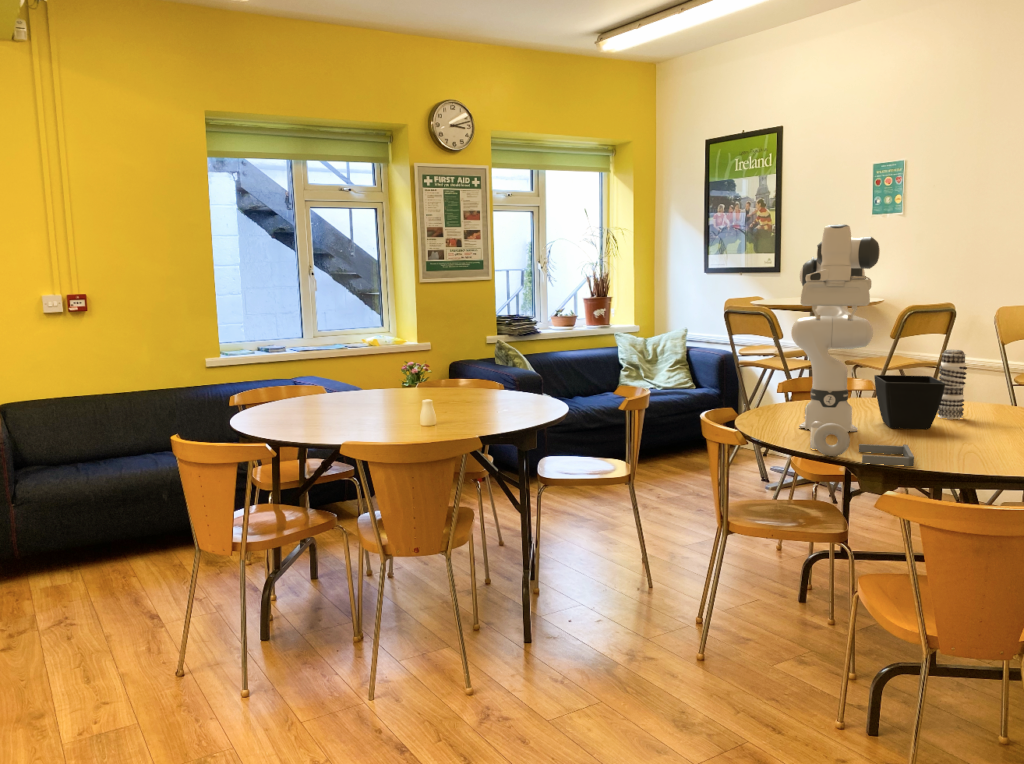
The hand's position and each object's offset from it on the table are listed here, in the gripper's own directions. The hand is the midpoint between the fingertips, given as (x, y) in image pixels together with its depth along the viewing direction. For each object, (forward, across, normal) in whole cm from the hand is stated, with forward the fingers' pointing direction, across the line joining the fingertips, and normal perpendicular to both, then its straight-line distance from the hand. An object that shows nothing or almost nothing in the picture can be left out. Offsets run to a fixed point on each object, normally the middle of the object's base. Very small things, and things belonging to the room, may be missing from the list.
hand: (833, 320), depth 260 cm
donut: (+41, 0, +17) cm, 44 cm away
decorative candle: (+33, -43, -65) cm, 84 cm away
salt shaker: (+40, +4, +8) cm, 41 cm away
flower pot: (+35, -26, -42) cm, 60 cm away
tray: (+41, -15, +17) cm, 46 cm away
